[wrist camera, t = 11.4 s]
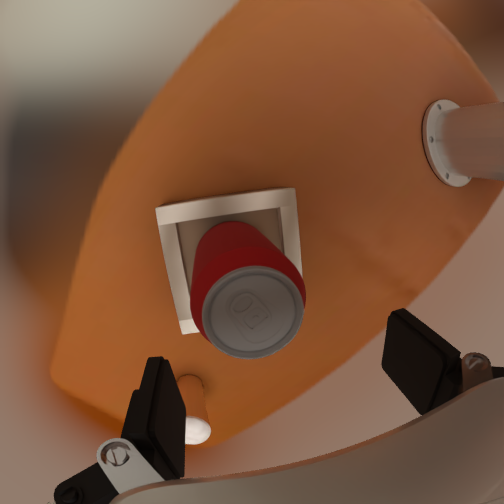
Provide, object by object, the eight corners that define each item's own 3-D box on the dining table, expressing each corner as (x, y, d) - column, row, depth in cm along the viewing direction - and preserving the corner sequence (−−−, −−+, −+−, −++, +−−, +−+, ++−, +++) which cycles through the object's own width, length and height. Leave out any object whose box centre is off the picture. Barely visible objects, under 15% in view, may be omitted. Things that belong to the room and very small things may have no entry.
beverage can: (227, 304, 27) (244, 387, 15) (179, 252, 25) (160, 312, 13) (282, 260, 27) (337, 318, 15) (237, 203, 25) (267, 225, 13)
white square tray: (282, 186, 28) (295, 188, 24) (292, 296, 31) (304, 312, 27) (162, 204, 26) (155, 208, 22) (184, 314, 30) (182, 334, 26)
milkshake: (167, 366, 31) (159, 426, 21) (210, 373, 32) (215, 434, 22) (164, 391, 32) (157, 450, 22) (204, 398, 33) (208, 457, 23)
